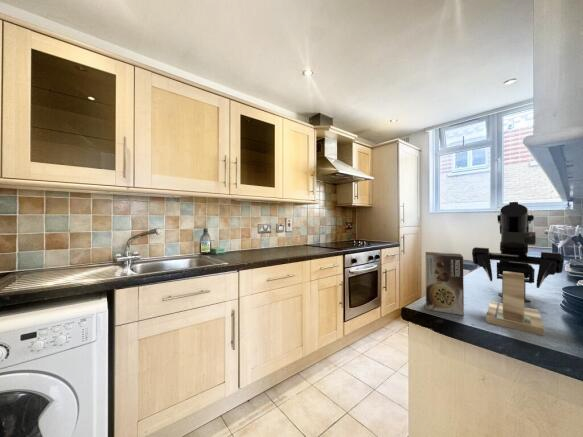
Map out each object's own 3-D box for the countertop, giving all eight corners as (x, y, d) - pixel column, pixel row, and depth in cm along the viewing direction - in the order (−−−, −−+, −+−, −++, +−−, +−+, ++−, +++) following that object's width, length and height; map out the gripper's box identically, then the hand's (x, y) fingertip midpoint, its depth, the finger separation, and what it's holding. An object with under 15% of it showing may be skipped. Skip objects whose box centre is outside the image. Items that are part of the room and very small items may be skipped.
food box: (460, 308, 68) (461, 253, 68) (464, 316, 63) (464, 256, 63) (425, 302, 73) (425, 251, 73) (425, 309, 67) (425, 253, 67)
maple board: (490, 306, 71) (490, 300, 71) (538, 315, 64) (538, 309, 64) (486, 321, 59) (486, 315, 59) (544, 335, 52) (544, 328, 52)
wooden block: (503, 312, 62) (503, 270, 62) (523, 316, 59) (523, 272, 59) (502, 318, 57) (502, 273, 58) (524, 323, 55) (524, 276, 55)
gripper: (472, 221, 74) (467, 260, 66) (563, 222, 61) (570, 271, 53) (475, 244, 79) (471, 283, 71) (558, 249, 66) (564, 297, 58)
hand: (513, 283), depth 63 cm, fingers open, 9 cm apart
